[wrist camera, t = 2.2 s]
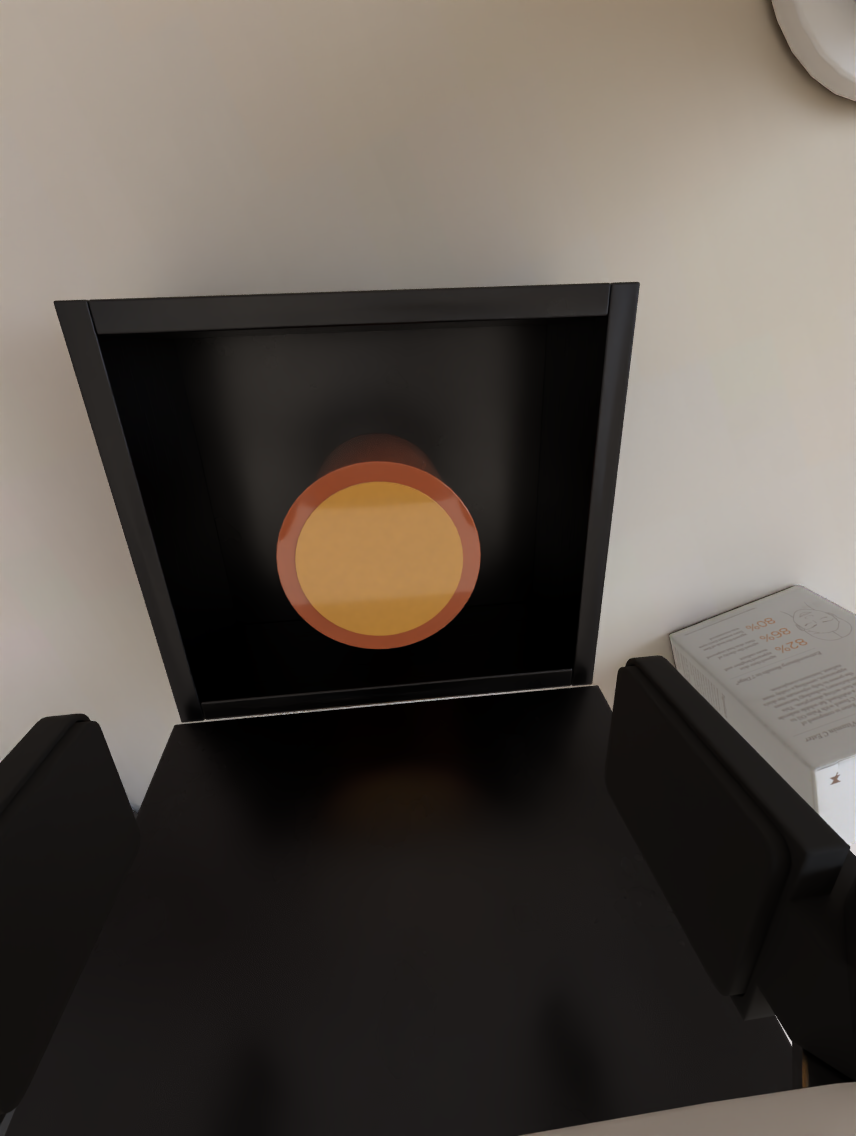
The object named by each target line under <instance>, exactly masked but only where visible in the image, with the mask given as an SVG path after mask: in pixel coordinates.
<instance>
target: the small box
mask: <svg viewBox="0 0 856 1136" xmlns="http://www.w3.org/2000/svg"><path fill="white" fill-rule="evenodd" d="M669 636H670V640H671V645H672V650H673V654H674V659H675V664H676V668H677V671H678V672H679V673H680V674H681V675H682V676H683V677H684V678H685V679H686V680H687V681H688V682H689V683H690V684H691V685H692V686H693V687H694V688H695V689H696V690H697V691H698V692H699V693H700V694H701V695H702V696H703V697H704V698H705V699H706V700H707V701H708V702H709V703H710V704H711V705H712V706H713V707H714V708H715V709H716V710H717V711H718V712H719V713H720V714H721V716H722V717H723V718H724V719H725V720H726V721H727V722H728V723H729V724H730V725H731V726H732V727H733V728H734V729H735V730H736V731H737V732H738V733H739V734H740V735H741V736H742V737H743V738H744V739H745V740H746V741H747V742H748V743H749V744H750V745H751V746H752V747H753V748H754V749H755V750H756V751H757V752H758V753H759V754H760V755H761V756H762V757H763V758H764V759H765V760H766V761H767V762H768V763H769V764H770V765H771V766H772V767H773V768H774V770H775V771H776V772H777V773H778V774H779V775H780V776H781V777H782V778H783V779H784V780H785V781H786V782H787V783H788V784H789V785H790V786H791V787H792V788H793V789H794V790H795V791H796V792H797V793H798V794H799V795H800V796H801V797H802V798H803V799H804V800H805V801H806V802H807V803H808V804H809V805H810V806H811V807H812V808H813V809H814V810H815V811H816V812H817V813H818V814H819V815H820V816H821V817H822V818H823V819H824V820H825V821H826V822H827V824H828V825H829V826H830V827H831V828H832V829H833V830H834V831H835V832H836V833H837V834H838V835H839V836H840V837H841V838H842V839H843V840H844V841H845V842H846V843H847V844H848V845H851V844H855V843H856V614H854V613H852V612H850V611H848V610H846V609H845V608H843V607H841V606H839V605H837V604H835V603H833V602H831V601H830V600H828V599H826V598H824V597H822V596H820V595H819V594H817V593H815V592H813V591H811V590H809V589H807V588H806V587H804V586H802V585H796V586H793V587H791V588H788V589H786V590H783V591H781V592H778V593H776V594H773V595H770V596H768V597H765V598H763V599H760V600H758V601H755V602H752V603H750V604H747V605H745V606H742V607H739V608H737V609H734V610H731V611H729V612H726V613H724V614H721V615H719V616H716V617H713V618H711V619H708V620H706V621H703V622H701V623H698V624H696V625H693V626H690V627H688V628H685V629H683V630H680V631H677V632H675V633H672V634H670V635H669Z"/></svg>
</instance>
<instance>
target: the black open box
mask: <svg viewBox="0 0 856 1136" xmlns="http://www.w3.org/2000/svg"><path fill="white" fill-rule="evenodd" d="M639 286H640V283H639V282H619V283H588V284H558V285H527V286H496V287H465V288H434V289H403V290H373V291H342V292H311V293H280V294H249V295H218V296H188V297H157V298H126V299H95V300H62V301H54V305H55V309H56V312H57V315H58V318H59V322H60V325H61V328H62V332H63V335H64V338H65V341H66V345H67V348H68V351H69V355H70V358H71V361H72V364H73V368H74V371H75V374H76V377H77V381H78V384H79V387H80V391H81V394H82V397H83V400H84V404H85V407H86V410H87V414H88V417H89V420H90V423H91V427H92V430H93V433H94V437H95V440H96V443H97V446H98V450H99V453H100V456H101V459H102V463H103V466H104V469H105V473H106V476H107V479H108V482H109V486H110V489H111V492H112V496H113V499H114V502H115V505H116V509H117V512H118V515H119V518H120V522H121V525H122V528H123V532H124V535H125V538H126V541H127V545H128V548H129V551H130V555H131V558H132V561H133V564H134V568H135V571H136V574H137V578H138V581H139V584H140V587H141V591H142V594H143V597H144V600H145V604H146V607H147V610H148V614H149V617H150V620H151V623H152V627H153V630H154V633H155V637H156V640H157V643H158V646H159V650H160V653H161V656H162V659H163V663H164V666H165V669H166V673H167V676H168V679H169V682H170V686H171V689H172V692H173V696H174V699H175V702H176V705H177V709H178V712H179V715H180V719H181V722H193V721H203V720H205V719H206V720H210V719H221V718H231V717H242V716H253V715H264V714H274V713H285V712H296V711H307V710H317V709H328V708H339V707H350V706H360V705H371V704H382V703H393V702H403V701H414V700H425V699H436V698H446V697H457V696H468V695H479V694H489V693H500V692H511V691H522V690H532V689H543V688H554V687H565V686H571V685H572V686H578V685H589V684H592V680H593V672H594V663H595V655H596V646H597V638H598V630H599V621H600V613H601V604H602V596H603V588H604V579H605V571H606V563H607V554H608V546H609V537H610V529H611V521H612V512H613V504H614V496H615V487H616V479H617V470H618V462H619V454H620V445H621V437H622V428H623V420H624V412H625V403H626V395H627V387H628V378H629V370H630V361H631V353H632V345H633V336H634V328H635V320H636V311H637V303H638V294H639ZM370 433H385V434H392V435H395V436H399V437H402V438H404V439H406V440H408V441H410V442H412V443H413V444H415V445H417V446H418V447H419V448H420V449H422V450H423V451H424V452H425V453H426V454H427V455H428V456H429V458H430V459H431V460H432V462H433V463H434V465H435V467H436V468H437V470H438V472H439V474H440V476H441V478H442V480H443V482H444V483H446V484H447V485H448V486H449V487H450V488H451V489H452V490H453V491H454V492H455V493H456V494H457V495H458V496H459V497H460V499H461V500H462V501H463V503H464V504H465V506H466V507H467V509H468V511H469V513H470V515H471V516H472V518H473V520H474V523H475V526H476V529H477V532H478V536H479V541H480V552H481V559H480V569H479V574H478V578H477V581H476V584H475V587H474V590H473V592H472V594H471V596H470V597H469V599H468V601H467V603H466V604H465V605H464V607H463V608H462V610H461V611H460V612H459V613H458V614H457V616H456V617H455V618H454V619H453V620H452V621H451V622H449V623H448V624H447V625H446V626H445V627H444V628H442V629H441V630H439V631H438V632H436V633H435V634H433V635H431V636H429V637H427V638H425V639H423V640H421V641H418V642H416V643H413V644H410V645H406V646H402V647H397V648H390V649H368V648H360V647H355V646H350V645H347V644H344V643H341V642H338V641H336V640H334V639H331V638H329V637H327V636H325V635H324V634H322V633H320V632H319V631H317V630H316V629H315V628H313V627H312V626H311V625H309V624H308V623H307V622H306V621H305V620H304V619H303V618H302V617H301V616H300V615H299V614H298V612H297V611H296V610H295V609H294V607H293V606H292V605H291V603H290V601H289V600H288V598H287V596H286V594H285V592H284V590H283V587H282V585H281V582H280V578H279V574H278V570H277V561H276V551H277V541H278V536H279V532H280V529H281V526H282V523H283V520H284V518H285V516H286V515H287V513H288V511H289V509H290V507H291V505H292V504H293V503H294V501H295V500H296V499H297V497H298V496H299V495H300V494H301V493H302V492H303V491H304V490H305V489H306V488H307V487H308V486H309V485H310V484H311V483H312V482H313V480H314V478H315V476H316V474H317V471H318V469H319V468H320V466H321V464H322V462H323V461H324V459H325V458H326V457H327V456H328V454H329V453H330V452H331V451H332V450H333V449H335V448H336V447H337V446H338V445H340V444H341V443H343V442H345V441H347V440H348V439H351V438H353V437H356V436H359V435H363V434H370Z"/></svg>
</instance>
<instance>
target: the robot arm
mask: <svg viewBox="0 0 856 1136" xmlns="http://www.w3.org/2000/svg"><path fill="white" fill-rule="evenodd" d="M772 4H773V8H774V12H775V15H776V19H777V22H778V24H779V26H780V28H781V30H782V32H783V34H784V36H785V38H786V40H787V43H788V45H789V47H790V49H791V51H792V53H793V54H794V55H795V56H796V58H797V59H798V60H799V61H800V63H801V64H802V65H803V67H804V68H805V69H806V70H807V72H808V73H809V74H810V75H811V77H813V78H814V79H815V80H817V81H818V82H819V83H821V84H822V85H823V86H825V87H826V88H828V89H829V90H830V91H832V92H833V93H834V94H837V95H839V96H842V97H845V98H848V99H850V100H853V101H856V0H772ZM604 778H605V784H606V788H607V791H608V793H609V796H610V798H611V799H612V801H613V803H614V805H615V807H616V808H617V810H618V812H619V814H620V816H621V818H622V819H623V821H624V823H625V825H626V827H627V829H628V830H629V832H630V834H631V836H632V838H633V839H634V841H635V843H636V845H637V847H638V849H639V850H640V852H641V854H642V856H643V858H644V860H645V861H646V863H647V865H648V867H649V869H650V871H651V872H652V874H653V876H654V878H655V880H656V881H657V883H658V885H659V887H660V889H661V891H662V892H663V894H664V896H665V898H666V900H667V902H668V903H669V905H670V907H671V909H672V911H673V912H674V914H675V916H676V918H677V920H678V922H679V923H680V925H681V927H682V929H683V931H684V933H685V934H686V936H687V938H688V940H689V942H690V944H691V945H692V947H693V949H694V951H695V953H696V954H697V956H698V958H699V960H700V962H701V964H702V965H703V967H704V969H705V971H706V973H707V975H708V976H709V978H710V980H711V982H712V983H713V985H714V986H715V988H716V989H717V990H718V992H719V993H720V994H722V995H723V996H730V998H731V999H732V1001H733V1003H734V1005H735V1006H736V1008H737V1010H738V1012H739V1013H740V1015H741V1017H742V1019H743V1021H746V1020H752V1019H758V1018H764V1017H770V1016H775V1015H776V1017H777V1018H778V1020H779V1021H780V1023H781V1024H782V1026H783V1028H784V1030H785V1031H786V1033H787V1035H788V1036H789V1038H790V1039H791V1041H792V1090H790V1091H783V1092H776V1093H770V1094H763V1095H756V1096H750V1097H743V1098H736V1099H730V1100H723V1101H716V1102H710V1103H704V1104H698V1105H692V1106H686V1107H681V1108H675V1109H669V1110H663V1111H658V1112H652V1113H646V1114H641V1115H635V1116H629V1117H623V1118H618V1119H612V1120H606V1121H601V1122H595V1123H589V1124H583V1125H578V1126H572V1127H566V1128H561V1129H555V1130H549V1131H543V1132H538V1133H532V1134H526V1135H520V1136H856V856H855V855H854V854H853V853H852V852H851V851H850V846H849V845H848V844H847V843H846V842H845V841H844V840H843V839H842V838H841V837H840V836H839V835H838V834H837V833H836V832H835V831H834V830H833V829H832V828H831V827H830V826H829V825H828V824H827V822H826V821H825V820H824V819H823V818H822V817H821V816H820V815H819V814H818V813H817V812H816V811H815V810H814V809H813V808H812V807H811V806H810V805H809V804H808V803H807V802H806V801H805V800H804V799H803V798H802V797H801V796H800V795H799V794H798V793H797V792H796V791H795V790H794V789H793V788H792V787H791V786H790V785H789V784H788V783H787V782H786V781H785V780H784V779H783V778H782V777H781V776H780V775H779V774H778V773H777V772H776V771H775V770H774V768H773V767H772V766H771V765H770V764H769V763H768V762H767V761H766V760H765V759H764V758H763V757H762V756H761V755H760V754H759V753H758V752H757V751H756V750H755V749H754V748H753V747H752V746H751V745H750V744H749V743H748V742H747V741H746V740H745V739H744V738H743V737H742V736H741V735H740V734H739V733H738V732H737V731H736V730H735V729H734V728H733V727H732V726H731V725H730V724H729V723H728V722H727V721H726V720H725V719H724V718H723V717H722V716H721V714H720V713H719V712H718V711H717V710H716V709H715V708H714V707H713V706H712V705H711V704H710V703H709V702H708V701H707V700H706V699H705V698H704V697H703V696H702V695H701V694H700V693H699V692H698V691H697V690H696V689H695V688H694V687H693V686H692V685H691V684H690V683H689V682H688V681H687V680H686V679H685V678H684V677H683V676H682V675H681V674H680V673H679V672H678V671H677V670H676V669H675V668H674V667H673V666H672V665H671V664H670V663H669V662H668V660H667V659H665V658H664V657H663V656H649V657H639V658H631V659H629V660H628V661H627V663H626V666H625V667H621V668H620V669H619V670H618V674H617V682H616V689H615V697H614V705H613V712H612V720H611V727H610V735H609V742H608V750H607V758H606V765H605V773H604ZM139 846H140V830H139V827H138V824H137V821H136V819H135V816H134V813H133V811H132V808H131V806H130V803H129V800H128V798H127V795H126V793H125V790H124V787H123V785H122V782H121V779H120V777H119V774H118V772H117V769H116V766H115V764H114V761H113V759H112V756H111V753H110V751H109V748H108V745H107V743H106V740H105V738H104V735H103V732H102V730H101V727H100V725H99V724H98V723H97V722H96V721H90V719H89V718H88V717H87V716H86V715H85V714H70V715H60V716H50V717H45V718H42V719H41V720H40V721H38V722H37V723H36V724H35V725H34V726H33V727H32V729H31V730H30V731H29V732H28V733H27V734H26V735H25V736H24V737H23V738H22V740H21V741H20V742H19V743H18V744H17V745H16V746H15V747H14V748H13V750H12V751H11V752H10V753H9V754H8V755H7V756H6V757H5V758H4V759H3V761H2V762H1V763H0V1125H1V1123H2V1121H3V1119H4V1117H5V1115H6V1113H9V1112H11V1111H12V1110H14V1109H15V1108H16V1107H17V1106H18V1104H19V1103H20V1102H21V1100H22V1099H23V1097H24V1095H25V1093H26V1091H27V1089H28V1087H29V1085H30V1083H31V1081H32V1079H33V1077H34V1074H35V1072H36V1070H37V1068H38V1066H39V1064H40V1061H41V1059H42V1057H43V1055H44V1053H45V1051H46V1049H47V1046H48V1044H49V1042H50V1040H51V1038H52V1036H53V1034H54V1031H55V1029H56V1027H57V1025H58V1023H59V1021H60V1018H61V1016H62V1014H63V1012H64V1010H65V1008H66V1006H67V1003H68V1001H69V999H70V997H71V995H72V993H73V991H74V988H75V986H76V984H77V982H78V980H79V978H80V975H81V973H82V971H83V969H84V967H85V965H86V963H87V960H88V958H89V956H90V954H91V952H92V950H93V948H94V945H95V943H96V941H97V939H98V937H99V935H100V932H101V930H102V928H103V926H104V924H105V922H106V920H107V917H108V915H109V913H110V911H111V909H112V907H113V904H114V902H115V900H116V898H117V896H118V894H119V892H120V889H121V887H122V885H123V883H124V881H125V879H126V877H127V874H128V872H129V870H130V868H131V866H132V864H133V861H134V859H135V857H136V855H137V852H138V850H139Z"/></svg>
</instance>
